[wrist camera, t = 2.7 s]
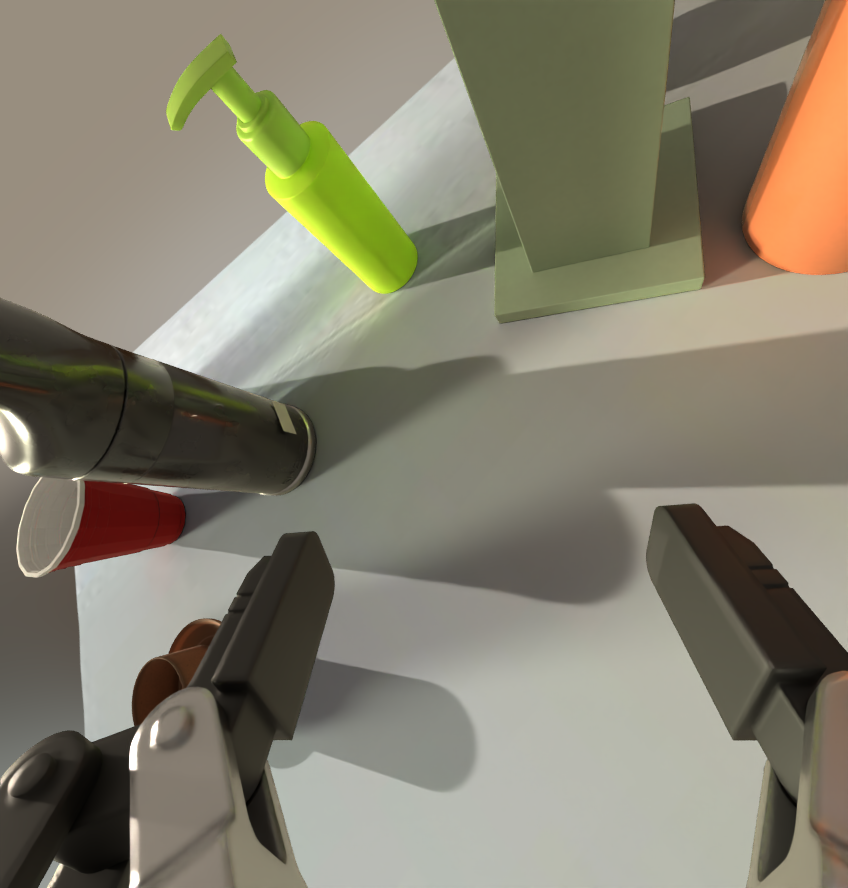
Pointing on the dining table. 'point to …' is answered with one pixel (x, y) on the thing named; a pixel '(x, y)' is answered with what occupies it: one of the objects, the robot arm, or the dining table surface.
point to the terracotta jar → (807, 162)
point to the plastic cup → (92, 523)
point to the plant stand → (581, 150)
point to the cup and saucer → (172, 668)
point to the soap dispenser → (303, 171)
